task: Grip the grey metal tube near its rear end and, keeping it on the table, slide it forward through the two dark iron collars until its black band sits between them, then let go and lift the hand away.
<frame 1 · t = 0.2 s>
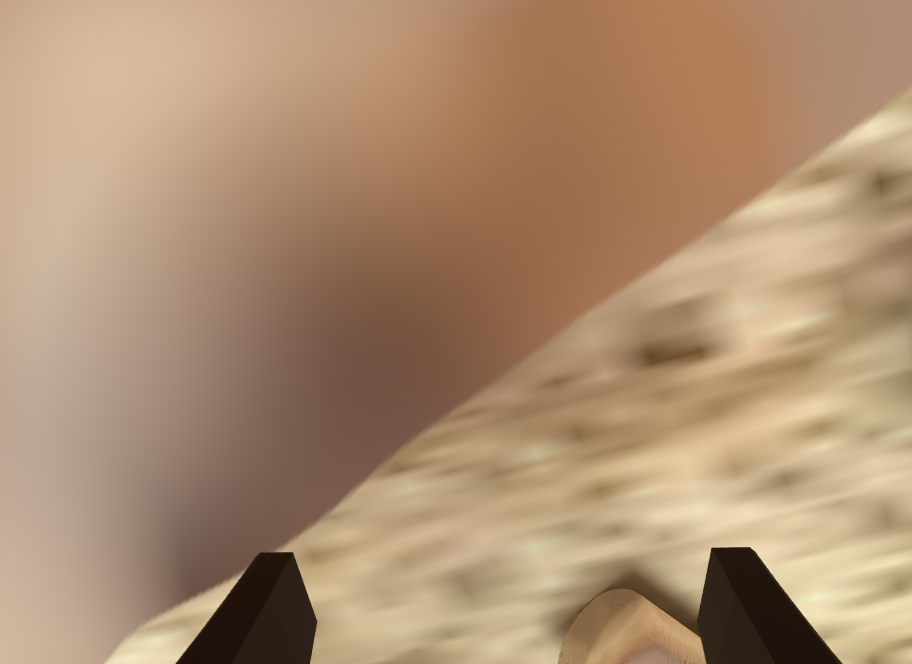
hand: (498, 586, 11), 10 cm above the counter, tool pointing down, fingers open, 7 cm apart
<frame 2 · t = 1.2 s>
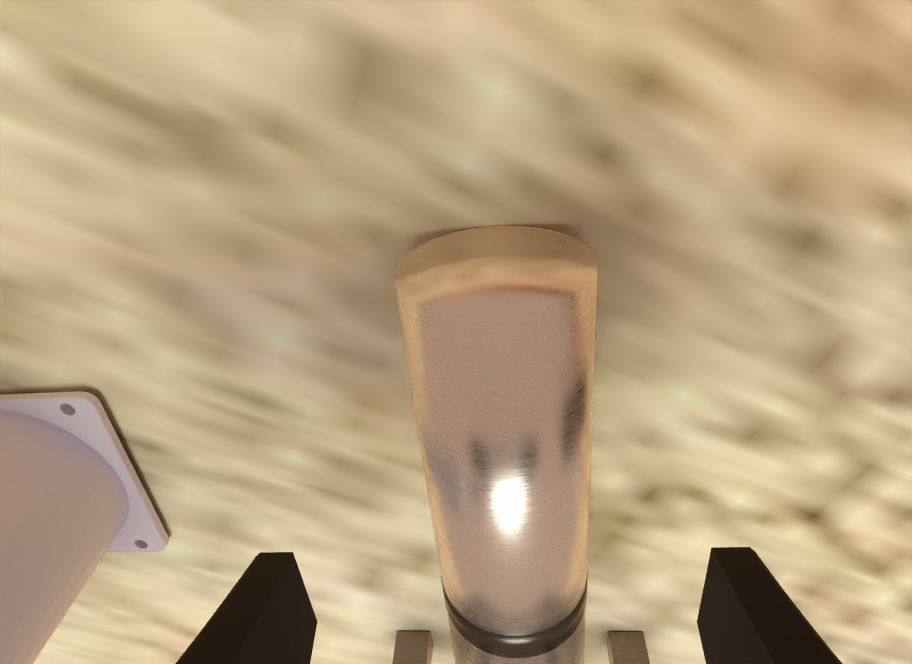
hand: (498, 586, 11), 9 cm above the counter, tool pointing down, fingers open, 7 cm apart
tube: (507, 461, 22), on the counter
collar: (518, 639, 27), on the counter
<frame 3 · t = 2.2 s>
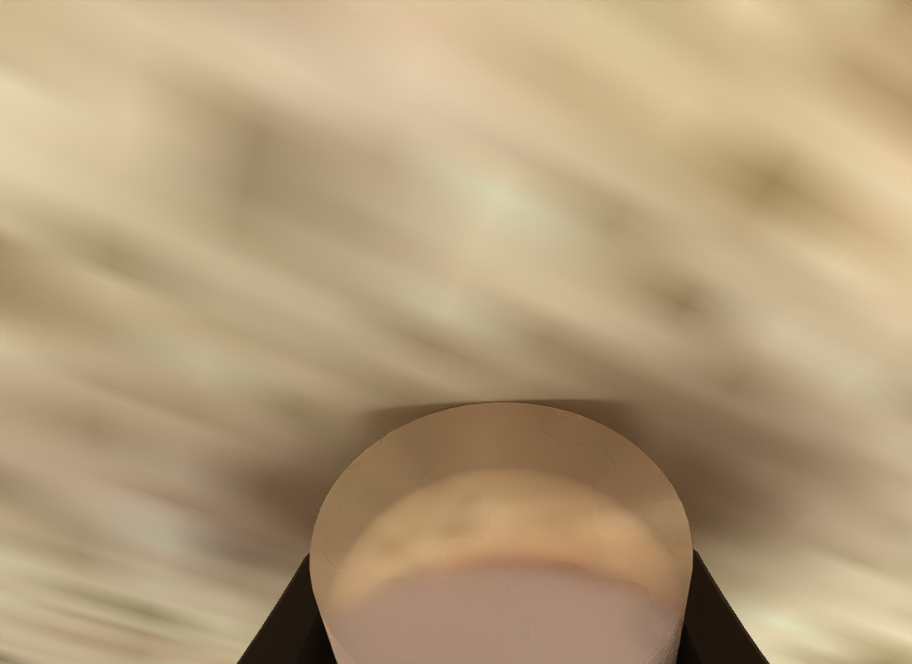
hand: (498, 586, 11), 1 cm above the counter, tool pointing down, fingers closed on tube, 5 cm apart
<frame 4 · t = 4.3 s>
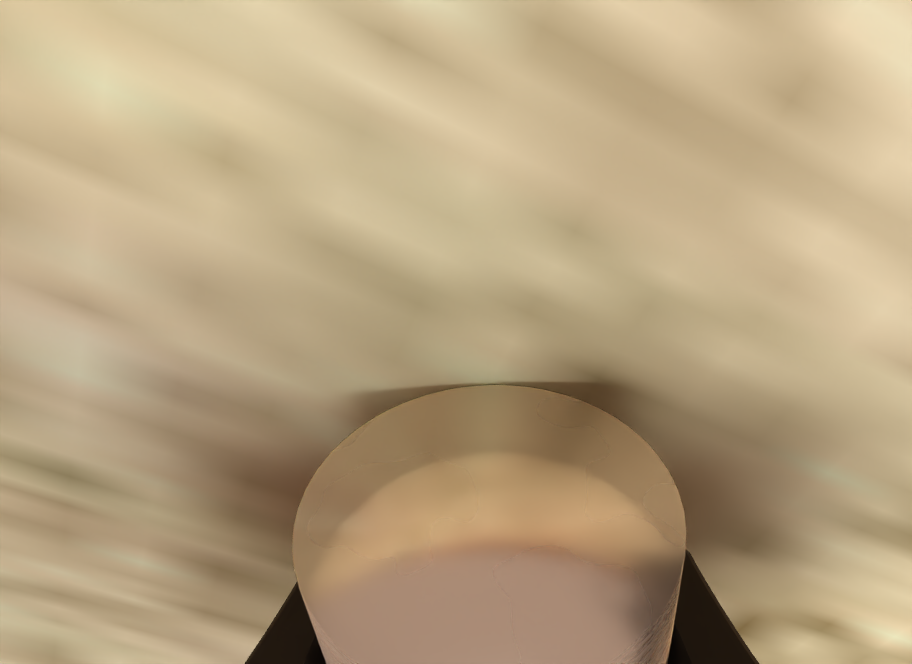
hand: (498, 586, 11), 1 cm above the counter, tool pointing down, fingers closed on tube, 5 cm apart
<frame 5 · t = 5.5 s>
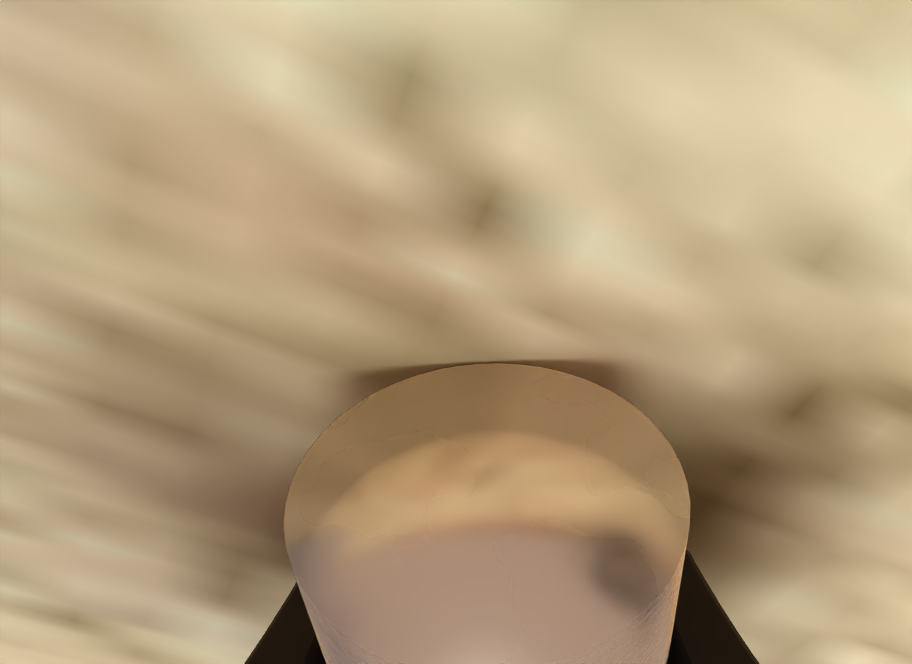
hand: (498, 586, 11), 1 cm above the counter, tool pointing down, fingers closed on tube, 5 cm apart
when the fingers open (1 cm above the counter, at t = 6.3 s): tube stays where it is, on the counter.
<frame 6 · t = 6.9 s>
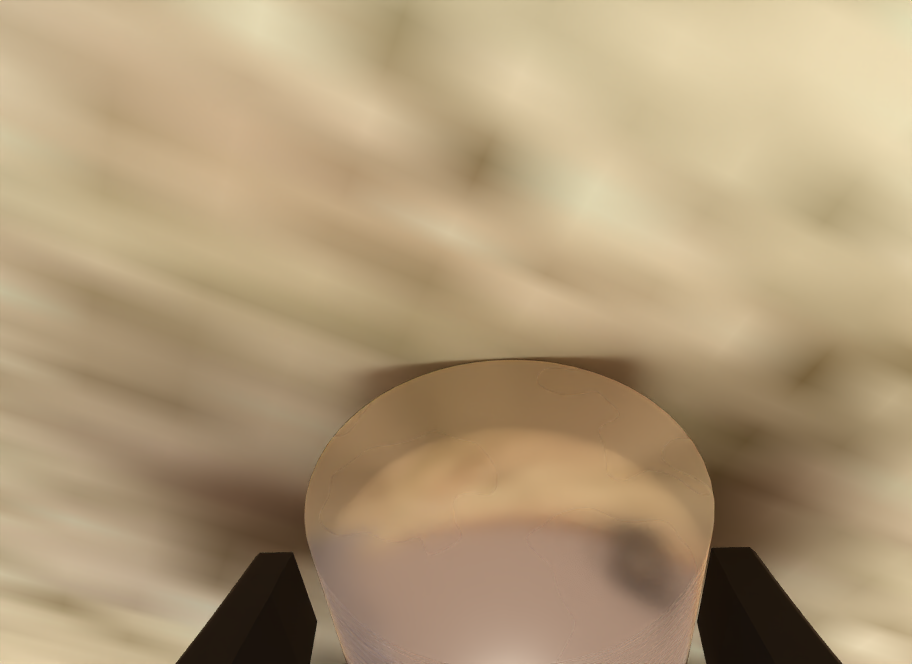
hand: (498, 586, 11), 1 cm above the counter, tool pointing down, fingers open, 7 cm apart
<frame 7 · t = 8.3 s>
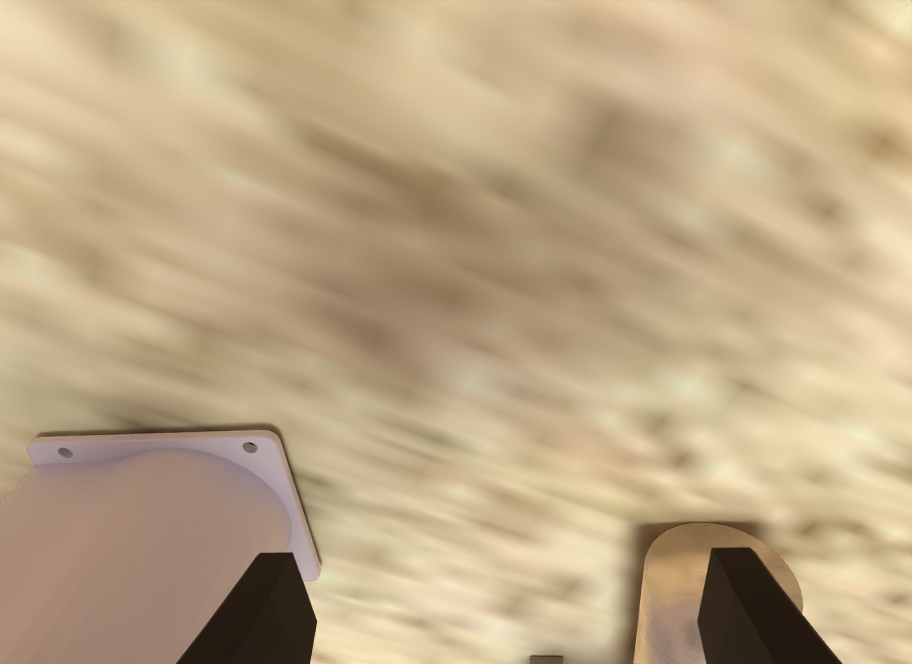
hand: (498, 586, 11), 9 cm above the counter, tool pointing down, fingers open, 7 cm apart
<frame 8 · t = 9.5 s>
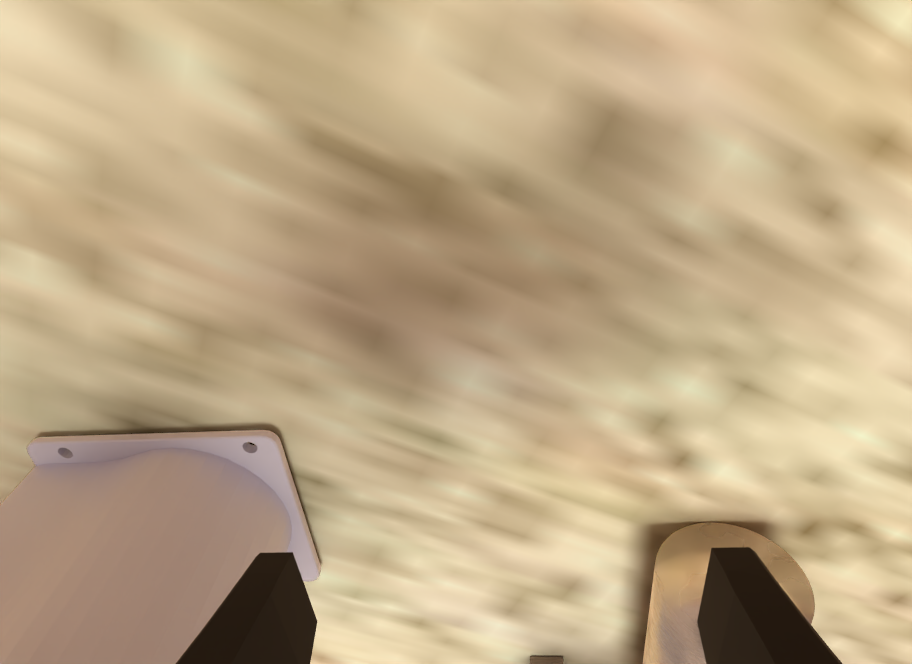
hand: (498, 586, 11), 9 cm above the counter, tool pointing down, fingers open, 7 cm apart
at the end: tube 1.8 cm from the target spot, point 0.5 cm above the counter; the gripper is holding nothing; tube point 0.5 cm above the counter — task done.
